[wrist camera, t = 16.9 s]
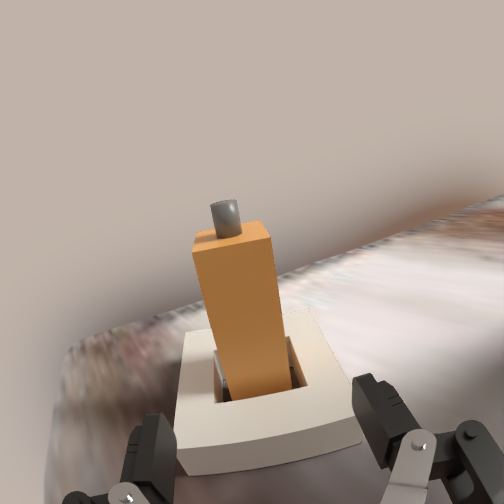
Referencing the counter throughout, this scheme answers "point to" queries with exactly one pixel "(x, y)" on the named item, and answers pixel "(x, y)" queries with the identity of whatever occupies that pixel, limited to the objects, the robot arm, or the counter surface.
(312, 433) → the socket
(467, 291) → the counter surface
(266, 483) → the counter surface
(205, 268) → the plug
